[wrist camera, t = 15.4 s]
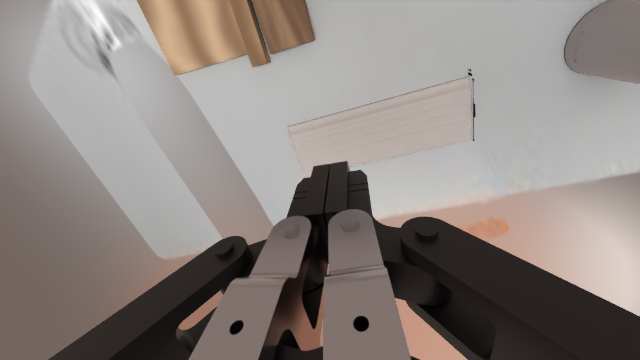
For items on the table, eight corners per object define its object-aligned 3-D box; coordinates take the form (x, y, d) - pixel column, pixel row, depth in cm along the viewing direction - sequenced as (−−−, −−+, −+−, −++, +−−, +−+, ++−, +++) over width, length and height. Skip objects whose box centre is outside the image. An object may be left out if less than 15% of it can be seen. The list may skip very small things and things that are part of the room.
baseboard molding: (285, 118, 46) (306, 172, 52) (281, 123, 44) (304, 180, 49) (467, 66, 39) (468, 136, 45) (475, 68, 36) (475, 142, 42)
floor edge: (227, -77, 33) (219, -83, 31) (270, 61, 41) (267, 63, 39) (126, -34, 36) (114, -37, 34) (185, 85, 44) (178, 88, 42)
